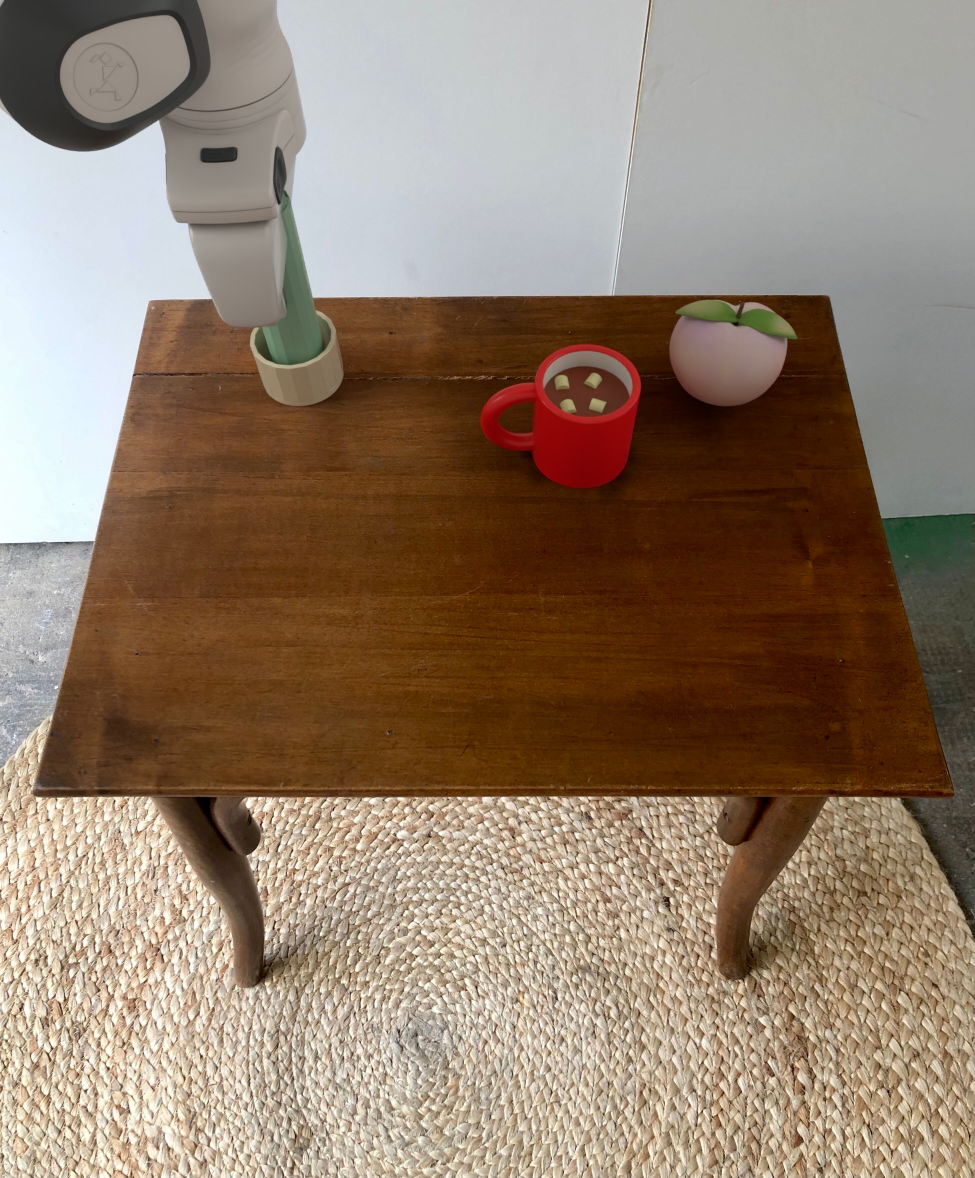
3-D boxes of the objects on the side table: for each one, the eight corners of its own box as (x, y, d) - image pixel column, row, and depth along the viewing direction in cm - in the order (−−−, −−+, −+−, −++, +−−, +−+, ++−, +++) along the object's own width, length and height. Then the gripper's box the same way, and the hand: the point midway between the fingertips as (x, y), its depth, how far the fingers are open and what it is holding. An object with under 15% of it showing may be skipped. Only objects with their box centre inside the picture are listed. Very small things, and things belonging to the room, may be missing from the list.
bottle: (271, 378, 75) (206, 171, 59) (275, 340, 77) (214, 130, 61) (324, 376, 75) (274, 168, 59) (326, 338, 77) (279, 128, 61)
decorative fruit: (659, 431, 74) (679, 340, 66) (660, 358, 79) (679, 264, 70) (774, 439, 74) (810, 349, 65) (769, 365, 78) (803, 272, 69)
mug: (477, 420, 75) (474, 351, 69) (620, 409, 76) (631, 339, 69) (485, 496, 71) (484, 431, 65) (636, 484, 72) (650, 418, 65)
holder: (259, 408, 76) (246, 370, 72) (265, 347, 80) (253, 308, 76) (342, 404, 76) (333, 366, 73) (345, 344, 80) (337, 304, 76)
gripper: (202, 27, 63) (249, 201, 75) (162, 219, 53) (224, 385, 65) (292, 24, 63) (326, 198, 75) (270, 215, 53) (313, 381, 65)
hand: (279, 286), depth 70 cm, fingers closed on bottle, 4 cm apart
